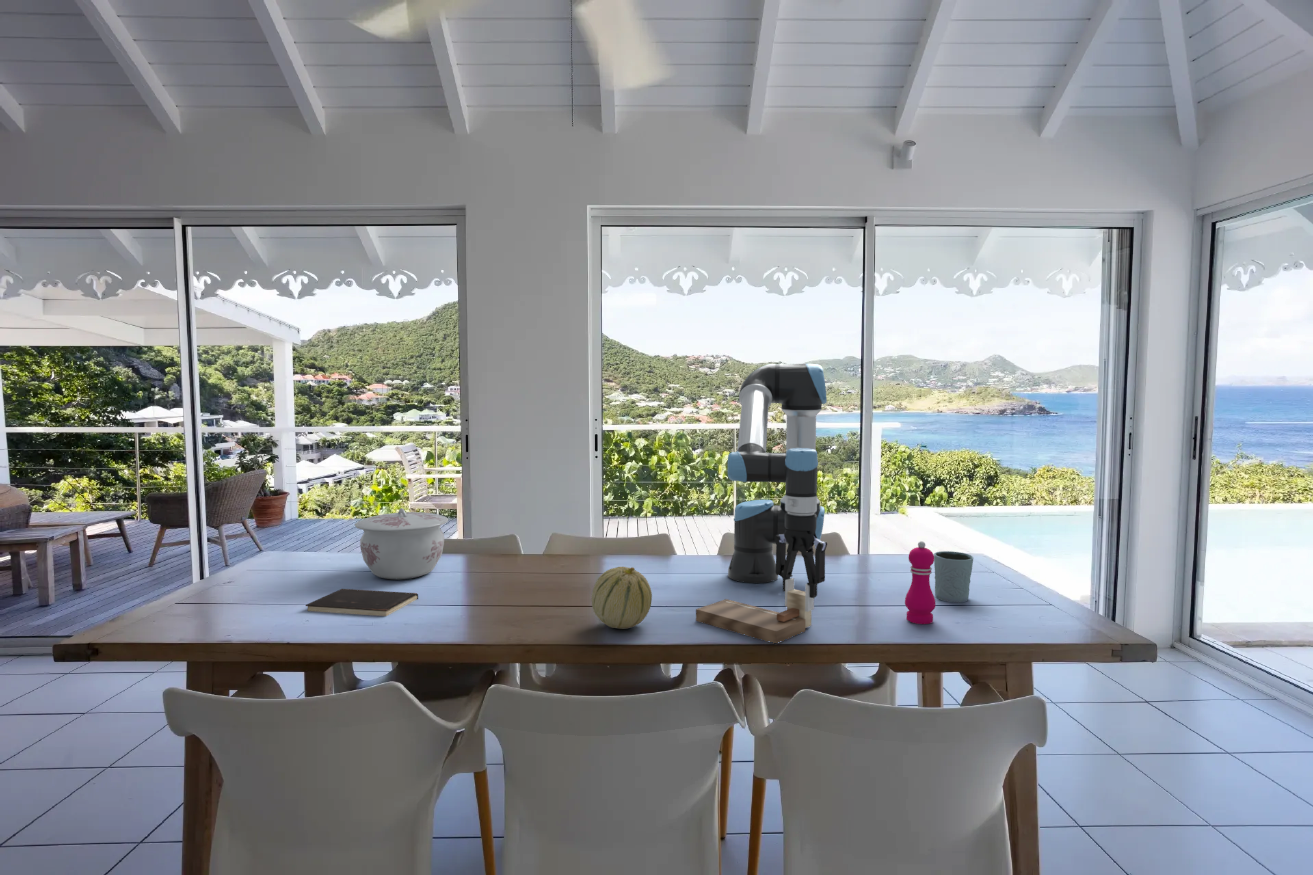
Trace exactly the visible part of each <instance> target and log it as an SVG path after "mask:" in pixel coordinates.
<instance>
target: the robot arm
mask: <svg viewBox="0 0 1313 875" xmlns="http://www.w3.org/2000/svg"><path fill="white" fill-rule="evenodd" d="M824 373H825V372H824V368H823V367H822V366H821V365H820V364H817V363H816V364H815V363H806V362H805V363H769V364H765V365H762V366H760V367H758V368H756V369H754V370H753V371H752V372H751V373H750V374H749V375H747V377H746V378H745V379H744V381H743V382H742V385H741V386H740V388H739V393H738V394H739V395H738V401H739V403H740V405H741V409H740V418H739V421H740V422H739V428H738V440H737V448H736V449H737V450H736V451H733V452H730V453H729V454H728V456H727V477H728V480H730V481H733V482H742V483H785V492H784V494H785V495H784V496H782V497H781V498H780V500H779V501H780V502H779V505H775V504H774V502H773V501H774V500H771V499H755V500H748V501H747V500H746V501H743V502H740V503H739V504H737V505H735V508H734V518H733V522H734V530H733V532H734V534H733V535H734V537H733V538H734V539H733V554H732V556H731V560H730V562H729V566H728V569H727V576H728V578H729V579H731V580H733V581H736V582H741V583H749V584H763V583H771V582H774V581H776V580H778V578H779V577H781V578H782V592H784V606H785V607H786V608H787V592H788V591H791V590H793V589H795V578H793V576H794V575H793V570H794V566H795V562H796V560H797V554H798V553H799V552H800V554H801V557H802V558H803V562H804V567H805V568H804V569H805V572H806V576H807V577H806V578H807V581H808V582H807V583H805V584H804V585H805V587H804V588H805V590H804V591H805V611H807V612H809V611H811V610H812V611H813V610H814V609H815V598H817V596H818V585H819V584H821V583H824V582H825V581H826V549H827V546H828V542H827V541H826V540H824V541H822V540H821V538H822V534H823V528H824V521H825V514H826V513H825V507H824V506H822V505H821V504H820V503H821V502H820V501H821V500H820V499H819V498H818V490H817V489H818V466H819V459H818V452H817V450H816V445H817V441H816V440H817V439H816V438H817V436H816V435H817V415H818V414H819V413H820V412H821V411H822V408H823V406H822V405H825V404H827V402H828V401H827V398H828V397H827V388H826V381H825V374H824ZM772 404H781V411H782V412H783V413H784V414H785V415H786V428H785V429H786V432H785V433H786V434H785V435H786V437H785V438H786V440H785V443H786V444H785V452H767V441H768V422H769V421H768V420H769V418H768V417H769V407H770V406H771V405H772ZM774 545H776V546H775V547H776V548H775V549H776V550H775V557H774V553H773V546H774ZM813 546H814V547H813ZM814 549H815V552H814Z"/></svg>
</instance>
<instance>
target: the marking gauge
mask: <svg viewBox="0 0 1313 875" xmlns="http://www.w3.org/2000/svg"><path fill="white" fill-rule="evenodd" d="M812 611H813V610H811V611H809V612H807V611H805V590H801V589H795V588H794V589H793V590H791V591H788V592H787V607H786V609H785V610H784V611H780V612H779V613H778V614H777V620H779V621H782V622H785V621H787V620H790V619H792V618H795V617H799V618H803V619H805V629H807V628H809V627H811V626H812Z"/></svg>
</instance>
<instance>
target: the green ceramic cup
mask: <svg viewBox="0 0 1313 875" xmlns="http://www.w3.org/2000/svg"><path fill="white" fill-rule="evenodd" d="M933 555H934V563H933V564H934V565H933V566H934V598H936V599H937V600H939V601H944V602H949V603H964V602H967V601H969V596H970V584H971V576H972V572H973V564H974V563H973V562H974V556H973V555H971V554H969V553H965V552H959V551H952V550H951V551H950V550H943V551H937V552H936V551H935V552H934V553H933Z"/></svg>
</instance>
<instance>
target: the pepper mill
mask: <svg viewBox="0 0 1313 875" xmlns="http://www.w3.org/2000/svg"><path fill="white" fill-rule="evenodd" d="M908 562H909V563H910V564H911V565H910V573H911V576H912V577H911V584H910V586H909V588H908V591H907V593H906V595H905V599H904V605H905V607H906V608H907V611H906V620H907V621H908V622H909V621H910V623H913V624H916V625H928V624H932V623H933V622H934V614H933V613H932V612H933V611H934V610H935V608H936V599H935V598H936V597H935V594H934V593H933V591H932V588H931V582H930V578H931V577H930V576H931V574H932V569H933V568H932V567H931V566H932V565H933V564H934V553H933V551H932V550H930V549H929V548H927V547H926V543H925V542H924V541H921V540H920V541H918V543H917V547H913V548H912V549H911V550H910V551H909V553H908Z"/></svg>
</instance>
